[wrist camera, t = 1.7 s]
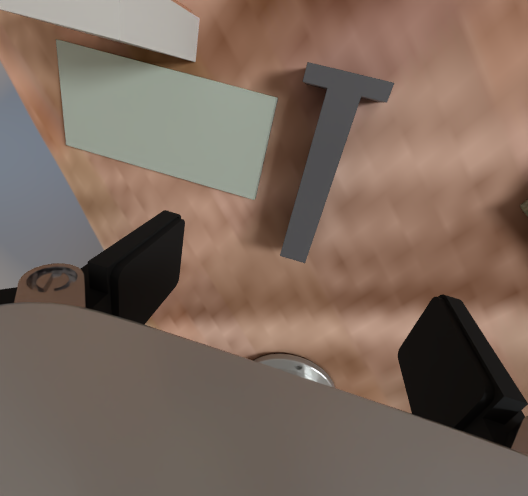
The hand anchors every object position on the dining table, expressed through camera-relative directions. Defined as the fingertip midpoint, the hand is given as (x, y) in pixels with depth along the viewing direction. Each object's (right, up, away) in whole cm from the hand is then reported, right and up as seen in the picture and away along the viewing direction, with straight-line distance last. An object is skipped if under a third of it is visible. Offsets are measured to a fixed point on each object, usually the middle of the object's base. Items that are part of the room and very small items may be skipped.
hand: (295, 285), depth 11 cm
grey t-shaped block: (+4, +8, +16) cm, 18 cm away
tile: (-11, +20, +13) cm, 26 cm away
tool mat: (-11, +13, +17) cm, 24 cm away
